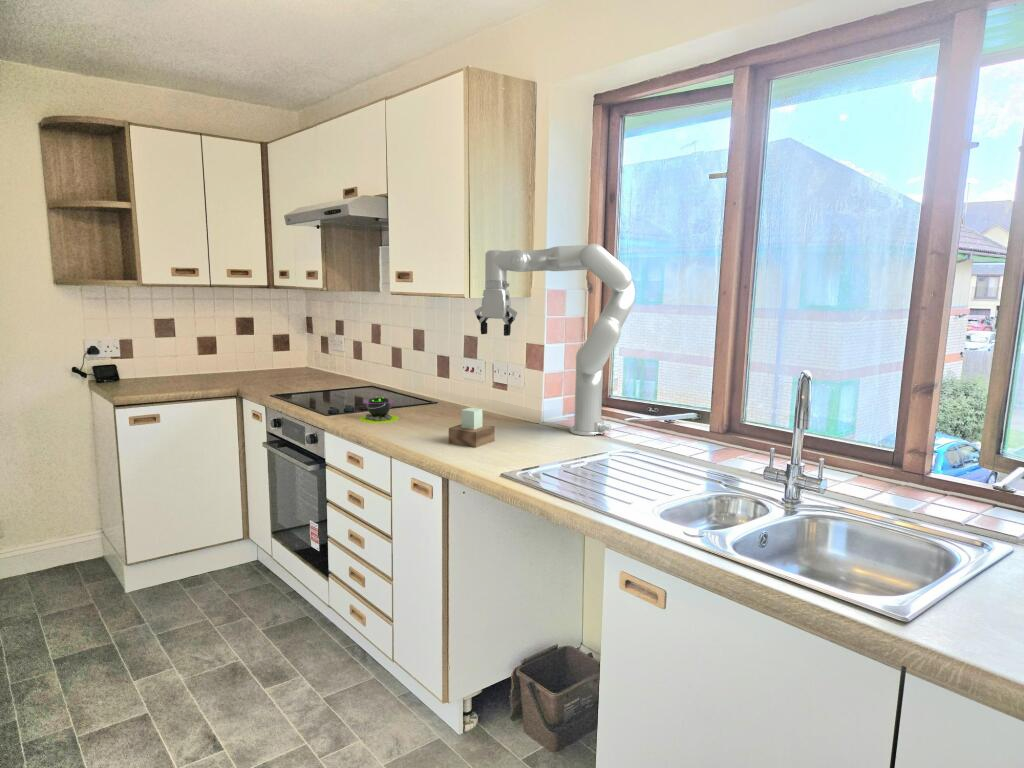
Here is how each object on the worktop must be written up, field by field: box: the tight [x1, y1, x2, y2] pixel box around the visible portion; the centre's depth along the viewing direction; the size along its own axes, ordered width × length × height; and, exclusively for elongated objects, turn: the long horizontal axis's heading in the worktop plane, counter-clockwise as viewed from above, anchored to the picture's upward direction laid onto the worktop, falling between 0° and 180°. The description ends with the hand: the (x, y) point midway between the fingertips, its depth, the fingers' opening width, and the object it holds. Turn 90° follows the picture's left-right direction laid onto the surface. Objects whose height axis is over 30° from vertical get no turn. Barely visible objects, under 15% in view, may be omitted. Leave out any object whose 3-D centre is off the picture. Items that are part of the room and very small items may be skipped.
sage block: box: [461, 407, 483, 429], centre depth 222 cm, size 5×5×6 cm
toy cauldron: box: [359, 389, 400, 424], centre depth 256 cm, size 15×15×11 cm
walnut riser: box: [448, 423, 496, 448], centre depth 223 cm, size 11×11×5 cm
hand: (495, 334), depth 237 cm, fingers open, 9 cm apart
